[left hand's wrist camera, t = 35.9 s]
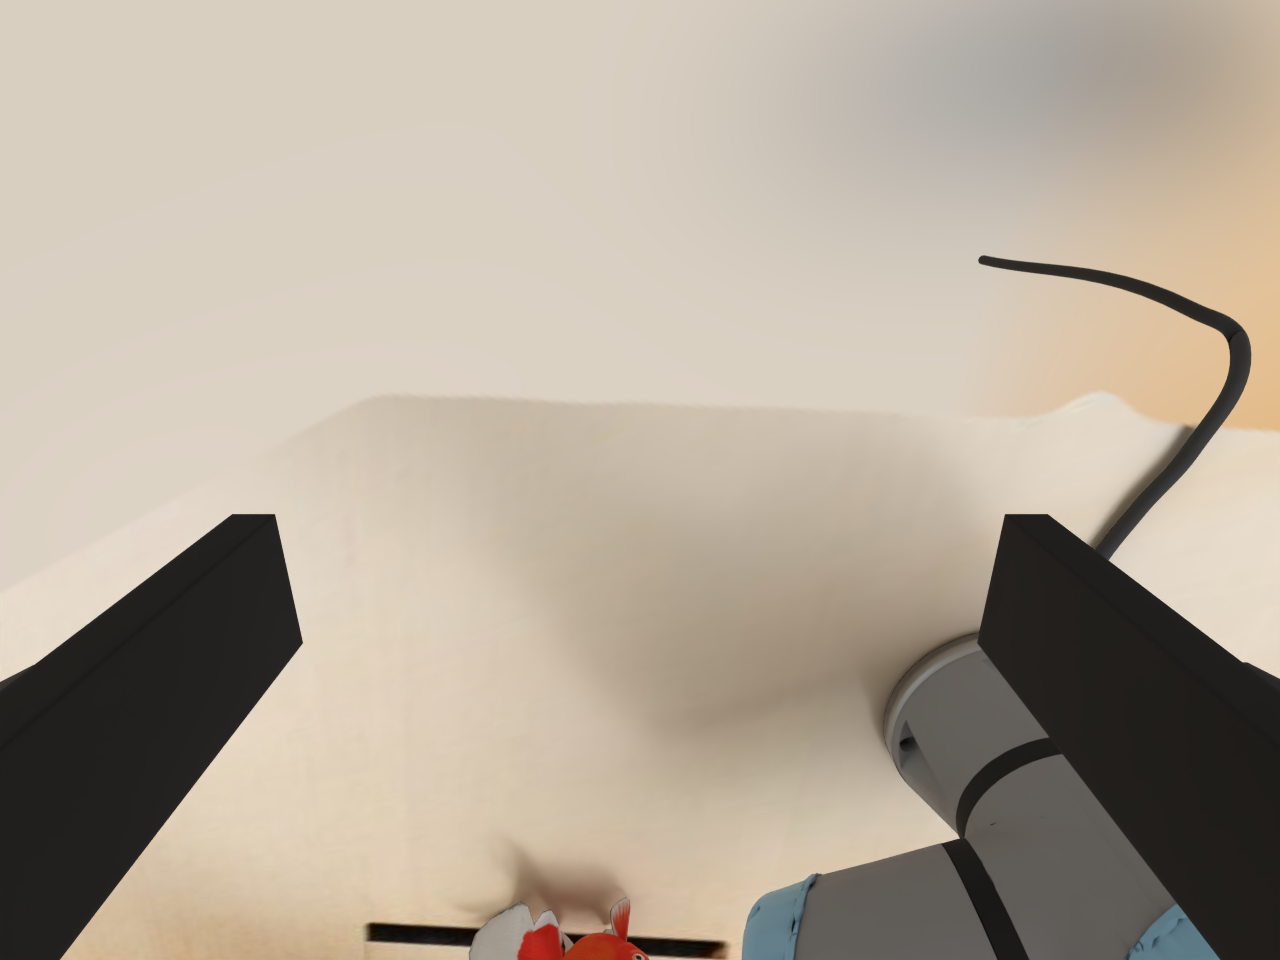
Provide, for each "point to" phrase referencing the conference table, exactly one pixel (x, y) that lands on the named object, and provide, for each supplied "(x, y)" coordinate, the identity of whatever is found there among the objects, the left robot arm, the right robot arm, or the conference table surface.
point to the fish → (551, 938)
